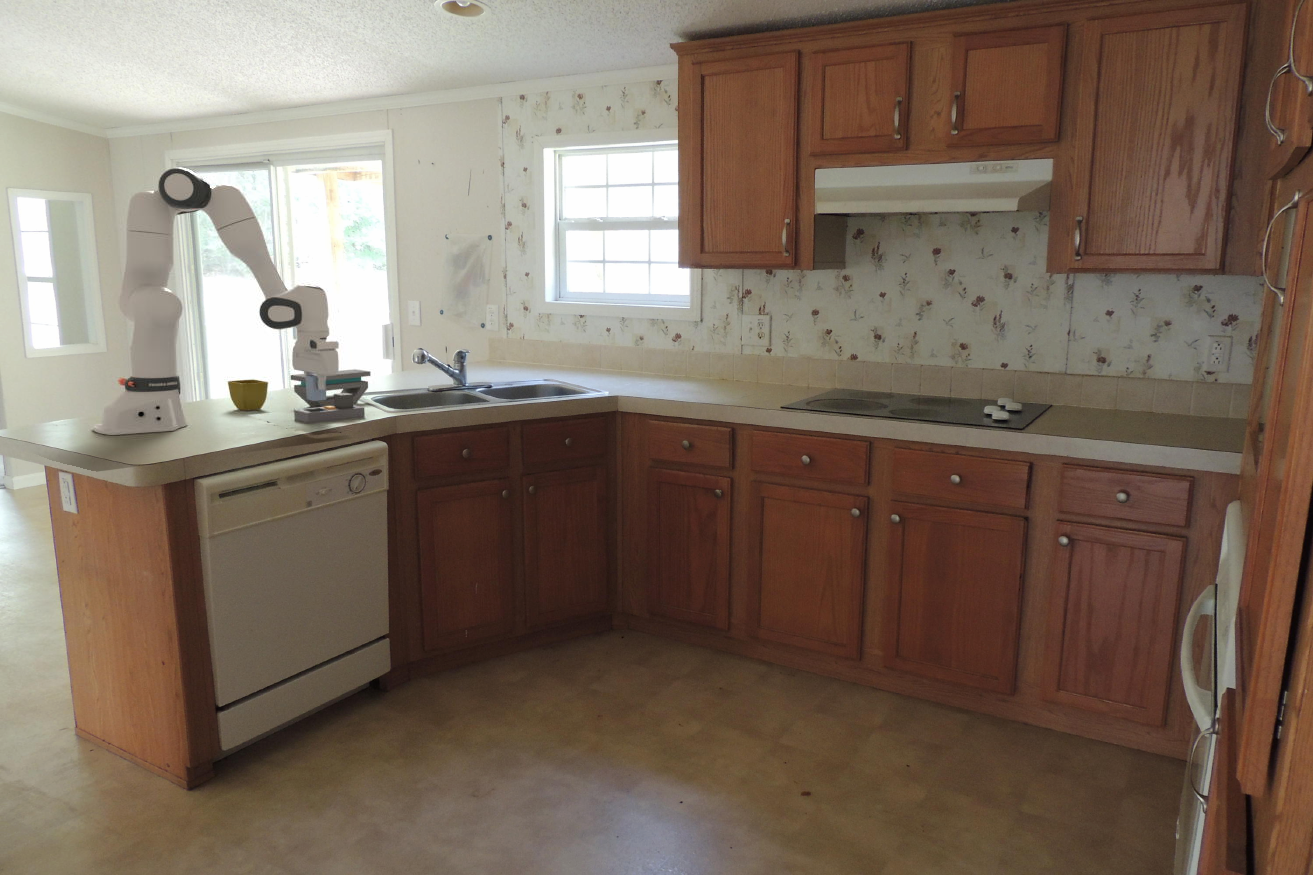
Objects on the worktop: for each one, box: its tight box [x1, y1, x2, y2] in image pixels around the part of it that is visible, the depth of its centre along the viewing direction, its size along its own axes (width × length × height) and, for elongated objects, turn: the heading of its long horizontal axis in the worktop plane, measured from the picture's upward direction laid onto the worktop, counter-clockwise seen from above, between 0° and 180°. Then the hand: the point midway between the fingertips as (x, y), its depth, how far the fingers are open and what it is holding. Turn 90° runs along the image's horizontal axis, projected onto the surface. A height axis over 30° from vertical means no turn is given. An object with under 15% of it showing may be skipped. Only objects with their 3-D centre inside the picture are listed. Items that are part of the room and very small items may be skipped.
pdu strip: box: [293, 404, 366, 425], centre depth 264 cm, size 18×8×5 cm, turn 139°
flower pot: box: [227, 378, 269, 412], centre depth 280 cm, size 9×9×9 cm
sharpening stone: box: [290, 368, 372, 408], centre depth 293 cm, size 25×8×11 cm, turn 147°
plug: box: [306, 375, 327, 401], centre depth 260 cm, size 4×4×7 cm
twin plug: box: [333, 392, 353, 409], centre depth 267 cm, size 4×4×7 cm
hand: (315, 388), depth 260 cm, fingers closed on plug, 4 cm apart
